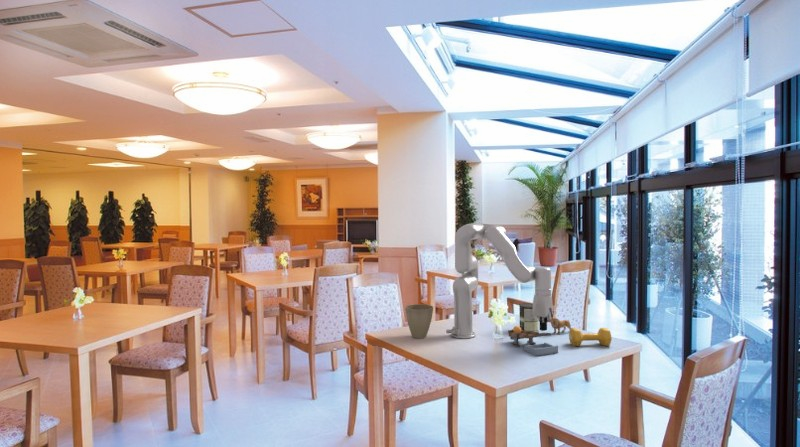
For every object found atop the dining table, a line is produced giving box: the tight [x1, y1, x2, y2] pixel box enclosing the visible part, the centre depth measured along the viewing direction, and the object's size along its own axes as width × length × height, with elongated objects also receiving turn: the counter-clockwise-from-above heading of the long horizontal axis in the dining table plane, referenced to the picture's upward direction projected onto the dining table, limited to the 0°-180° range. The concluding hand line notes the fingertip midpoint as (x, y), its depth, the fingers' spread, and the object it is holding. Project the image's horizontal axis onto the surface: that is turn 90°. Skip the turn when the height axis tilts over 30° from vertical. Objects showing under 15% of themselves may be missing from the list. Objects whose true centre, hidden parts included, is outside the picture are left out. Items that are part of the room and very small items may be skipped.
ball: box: [512, 325, 521, 333], centre depth 239 cm, size 4×4×4 cm
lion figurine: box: [550, 317, 572, 335], centre depth 256 cm, size 15×5×9 cm, turn 121°
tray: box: [523, 342, 559, 357], centre depth 223 cm, size 10×12×3 cm
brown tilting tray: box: [507, 329, 552, 341], centre depth 236 cm, size 15×14×4 cm
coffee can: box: [518, 302, 540, 332], centre depth 262 cm, size 10×10×14 cm
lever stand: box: [510, 334, 537, 348], centre depth 234 cm, size 4×12×6 cm, turn 113°
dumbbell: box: [568, 327, 612, 347], centre depth 233 cm, size 19×9×8 cm, turn 89°
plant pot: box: [404, 303, 434, 339], centre depth 251 cm, size 15×15×16 cm
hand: (543, 330), depth 232 cm, fingers closed
